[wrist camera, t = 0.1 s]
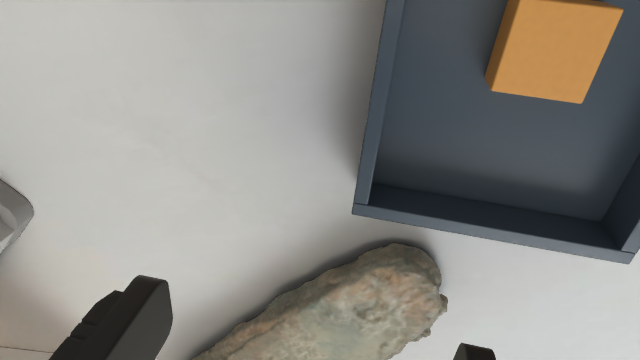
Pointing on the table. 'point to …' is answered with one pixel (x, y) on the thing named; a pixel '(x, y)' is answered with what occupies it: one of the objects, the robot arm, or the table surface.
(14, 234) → the alarm clock
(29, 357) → the white slotted tapered block
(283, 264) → the table surface
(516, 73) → the orange squat block
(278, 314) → the elongated rock
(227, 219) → the table surface
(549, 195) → the tray
